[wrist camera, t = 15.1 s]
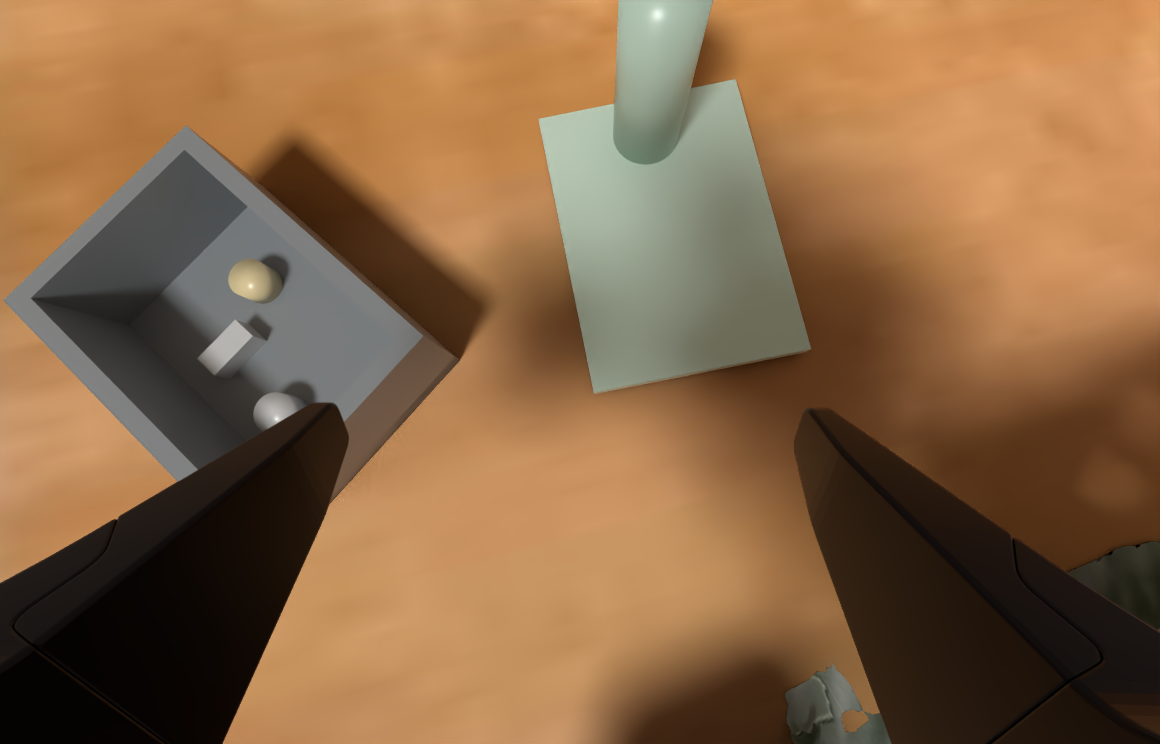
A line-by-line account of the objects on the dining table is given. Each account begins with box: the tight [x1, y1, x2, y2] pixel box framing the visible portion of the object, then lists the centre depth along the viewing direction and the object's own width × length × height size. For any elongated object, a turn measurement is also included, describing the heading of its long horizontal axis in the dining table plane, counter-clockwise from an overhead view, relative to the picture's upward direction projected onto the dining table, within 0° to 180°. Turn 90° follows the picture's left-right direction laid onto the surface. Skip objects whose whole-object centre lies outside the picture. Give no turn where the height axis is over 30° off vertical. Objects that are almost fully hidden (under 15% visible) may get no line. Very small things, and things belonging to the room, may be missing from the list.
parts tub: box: [3, 126, 460, 503], centre depth 22 cm, size 10×14×5 cm
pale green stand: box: [539, 0, 811, 394], centre depth 20 cm, size 10×14×9 cm
